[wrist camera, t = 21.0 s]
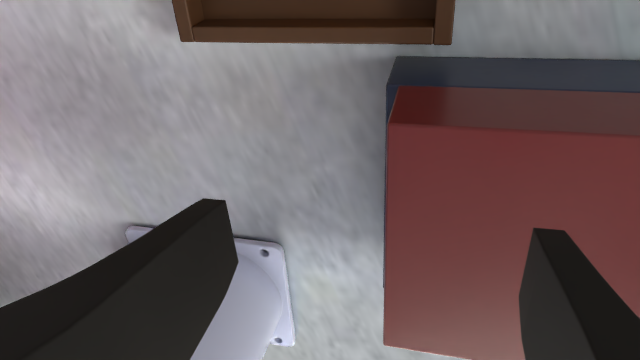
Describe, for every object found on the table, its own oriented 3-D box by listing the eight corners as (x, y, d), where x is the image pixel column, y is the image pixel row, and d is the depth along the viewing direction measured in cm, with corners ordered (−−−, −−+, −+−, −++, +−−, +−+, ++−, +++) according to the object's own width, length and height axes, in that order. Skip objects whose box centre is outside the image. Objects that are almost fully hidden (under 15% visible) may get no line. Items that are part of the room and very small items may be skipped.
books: (391, 245, 23) (372, 344, 18) (396, 55, 18) (372, 122, 13) (638, 273, 20) (694, 398, 16) (725, 61, 15) (849, 147, 10)
